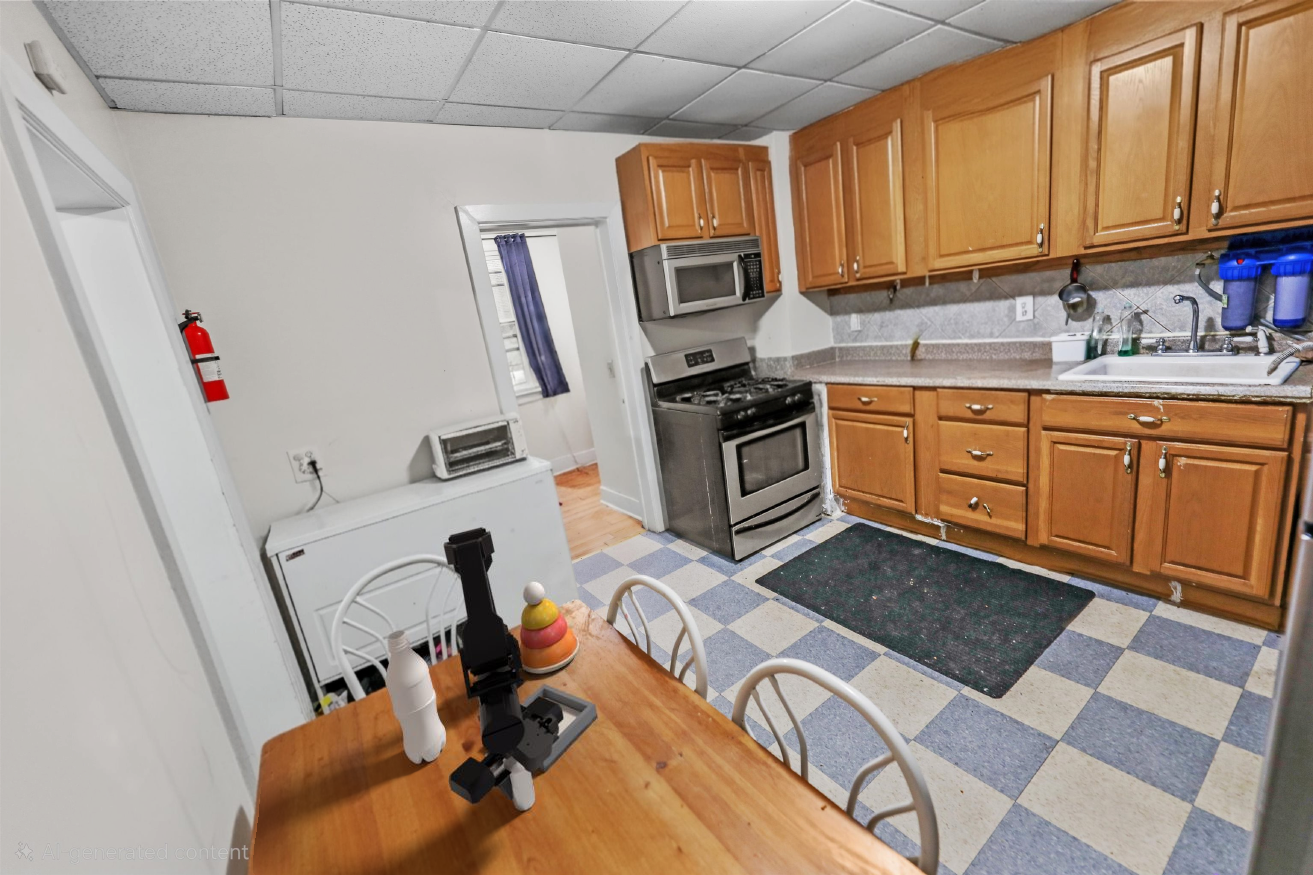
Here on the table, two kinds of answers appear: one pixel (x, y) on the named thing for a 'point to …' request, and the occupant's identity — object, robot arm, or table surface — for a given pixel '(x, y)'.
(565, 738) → the gray square tray
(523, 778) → the milkshake
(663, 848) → the table surface
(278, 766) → the table surface
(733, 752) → the table surface
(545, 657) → the stacking toy
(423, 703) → the water bottle
